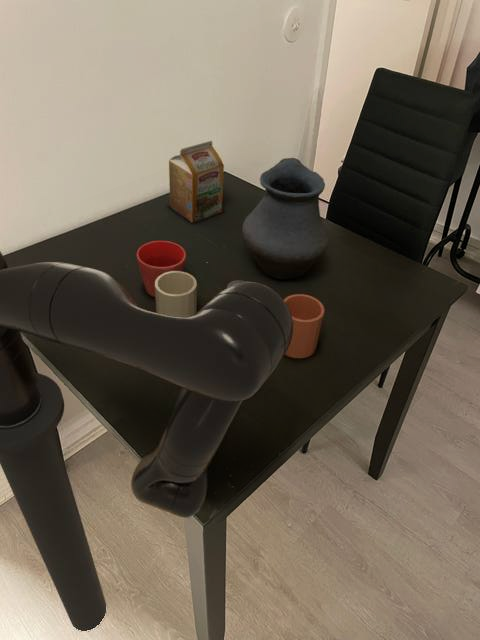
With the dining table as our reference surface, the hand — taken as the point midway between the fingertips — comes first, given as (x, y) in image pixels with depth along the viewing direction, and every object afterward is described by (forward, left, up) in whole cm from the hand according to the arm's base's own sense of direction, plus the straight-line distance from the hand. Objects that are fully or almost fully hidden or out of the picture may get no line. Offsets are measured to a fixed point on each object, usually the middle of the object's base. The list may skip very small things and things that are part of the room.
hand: (225, 332), depth 95 cm
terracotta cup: (+16, -2, -8) cm, 18 cm away
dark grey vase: (+29, +23, -8) cm, 38 cm away
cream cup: (-3, +16, -8) cm, 18 cm away
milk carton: (+22, +57, -8) cm, 62 cm away
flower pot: (-1, +27, -8) cm, 28 cm away
